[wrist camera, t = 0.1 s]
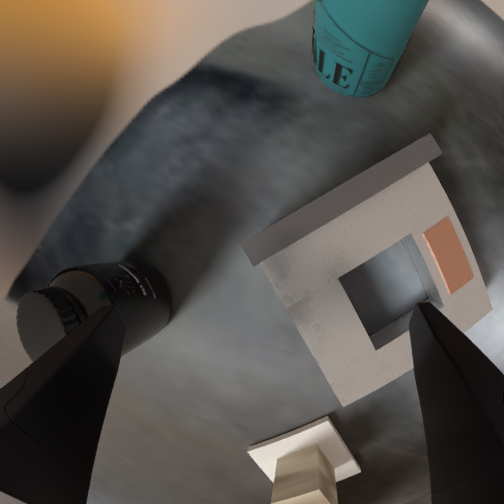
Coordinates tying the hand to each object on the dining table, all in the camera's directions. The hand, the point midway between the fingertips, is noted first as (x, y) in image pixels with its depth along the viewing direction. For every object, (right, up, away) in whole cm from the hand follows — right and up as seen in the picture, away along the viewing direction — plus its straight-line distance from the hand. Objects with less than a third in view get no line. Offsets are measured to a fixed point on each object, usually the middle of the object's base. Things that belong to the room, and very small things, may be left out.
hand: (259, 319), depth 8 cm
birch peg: (+5, -18, +14) cm, 23 cm away
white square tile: (+5, -18, +15) cm, 24 cm away
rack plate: (+9, 0, +14) cm, 17 cm away
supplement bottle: (-10, -2, +17) cm, 20 cm away
